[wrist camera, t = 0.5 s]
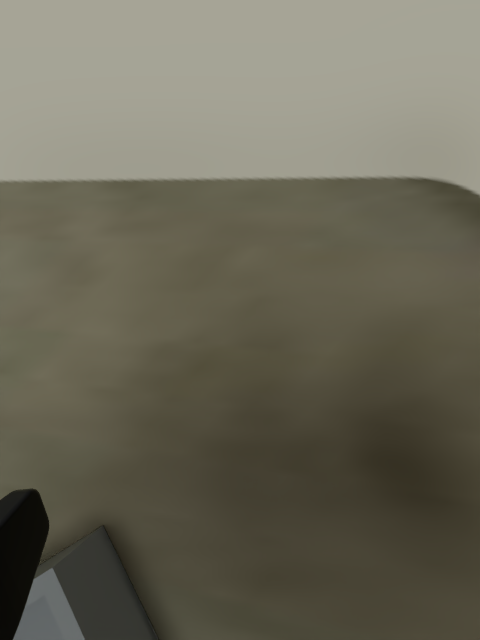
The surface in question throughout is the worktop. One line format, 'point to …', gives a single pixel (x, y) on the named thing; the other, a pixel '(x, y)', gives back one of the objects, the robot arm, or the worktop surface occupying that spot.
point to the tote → (84, 597)
